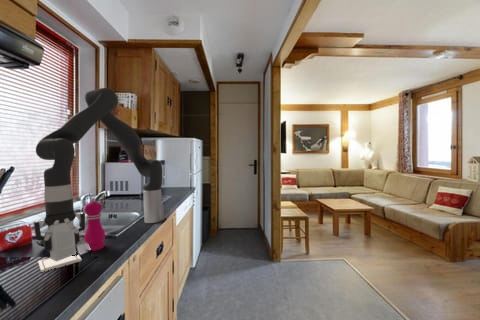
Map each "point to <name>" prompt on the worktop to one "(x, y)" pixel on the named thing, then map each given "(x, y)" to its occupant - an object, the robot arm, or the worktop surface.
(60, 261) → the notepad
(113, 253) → the worktop surface
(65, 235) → the skincare box
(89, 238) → the pepper mill
